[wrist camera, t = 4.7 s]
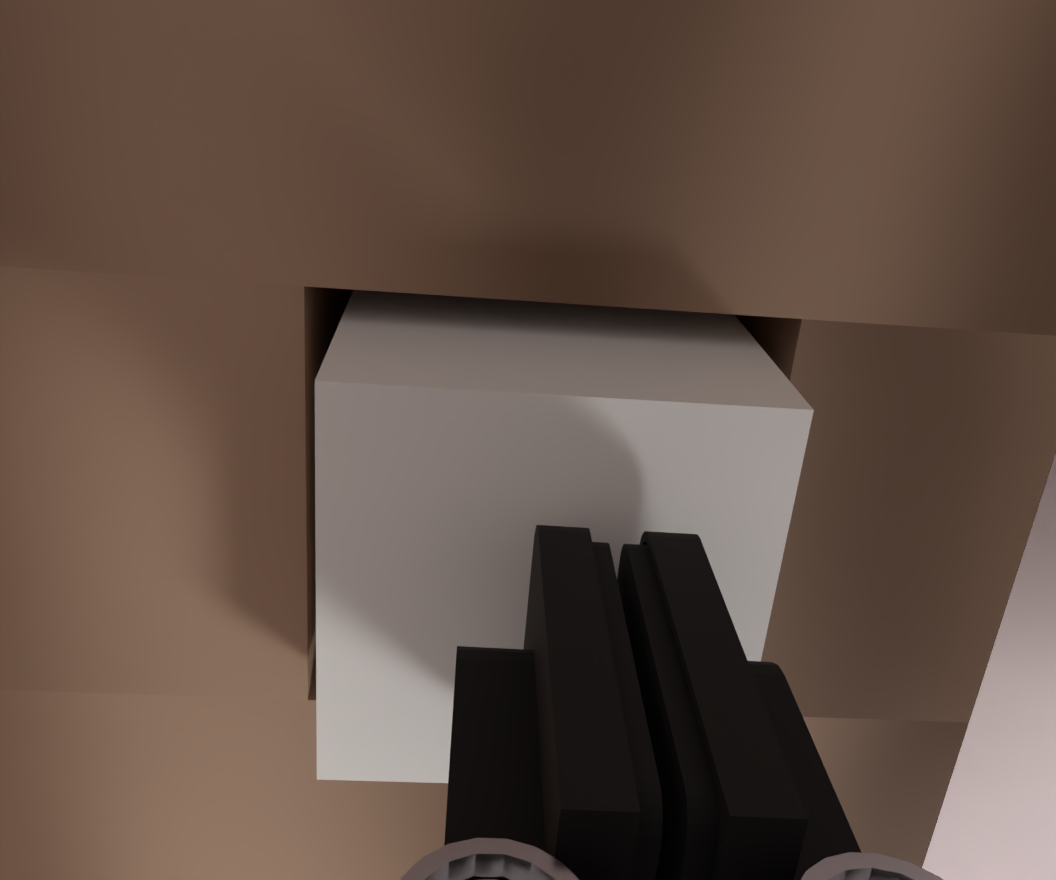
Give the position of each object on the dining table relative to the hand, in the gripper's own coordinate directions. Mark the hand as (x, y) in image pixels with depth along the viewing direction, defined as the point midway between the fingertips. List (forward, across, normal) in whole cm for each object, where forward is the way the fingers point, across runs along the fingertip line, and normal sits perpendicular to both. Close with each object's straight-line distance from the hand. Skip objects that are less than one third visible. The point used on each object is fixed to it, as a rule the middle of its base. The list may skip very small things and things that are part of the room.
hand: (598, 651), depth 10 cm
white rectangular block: (+8, +1, 0) cm, 8 cm away
